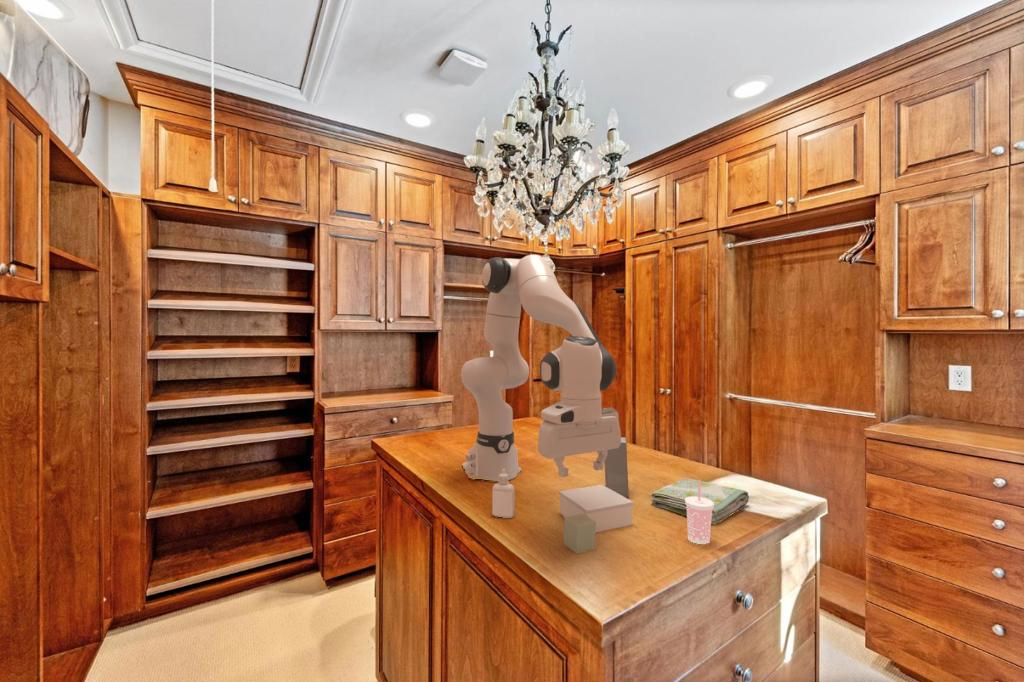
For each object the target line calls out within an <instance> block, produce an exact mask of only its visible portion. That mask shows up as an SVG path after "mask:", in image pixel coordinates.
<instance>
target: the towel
mask: <svg viewBox="0 0 1024 682" xmlns="http://www.w3.org/2000/svg"><path fill="white" fill-rule="evenodd" d="M698 480H699V479H698ZM698 480H697V479H692V478H683V479H679V480H677V481H675V482H673V483H669V484H667V485H666V486H663V487H661V488H659V489H657V490H655V491H653V492H652V493H651V494H650V498H651V503H652V505H653V506H655V507H657V508H660V509H664V510H667V511H671V512H674V513H677V514H679V515H682V516H686V517H687V507H686V504H685V498H687V497H698ZM700 497H703V498H707V499H709V500H711V501H712V502H714V506H713V507H714V508H713V509H712V519H711V524H715V525H717V524H719V523H721V522H722V521H721V520H723V519H724V518H726V517H728V516H729V515H730V514H732V513H734V512H736V511H737V510H740V509H741V510H742V508H743V509H744V508H745V507H746V506H747V504H748V503H749V499H750V498H749V497H750V496H749V492H747V491H746V490H743V489H740V488H735V487H729V486H724V485H721V484H716V483H710V482H707V481H703V480H702V481H701V493H700ZM741 510H740V511H741ZM729 517H730V516H729ZM729 517H728V518H729ZM726 519H727V518H726ZM724 520H725V519H724ZM724 520H723V521H724ZM720 521H721V522H720ZM718 522H719V523H718ZM716 523H717V524H716Z"/></svg>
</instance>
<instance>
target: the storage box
mask: <svg viewBox="0 0 1024 682" xmlns="http://www.w3.org/2000/svg"><path fill="white" fill-rule="evenodd" d="M558 495H559V514H560V515H562V516H563V518H565V517H569V516H573V515H578V514H584V515H585V516H587V517H589V518H590V519H592V520H594V521H595V522H596V533H600V532H603V531H604V532H605V531H608V530H609V531H610V530H614V529H619V528H624V527H629V526H632V525H633V506H634V501H633V500H630V499H628V498H626V497H623V496H622V495H620V494H618V493H616V492H614V491H613V490H611V489H609V488H607V487H606V485H604V484H598V485H591V486H585V487H579V488H571V489H565V490H559V491H558Z"/></svg>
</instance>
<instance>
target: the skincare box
mask: <svg viewBox="0 0 1024 682" xmlns="http://www.w3.org/2000/svg"><path fill="white" fill-rule="evenodd" d="M627 444H628V443H627V439H626V437H623V436H621V444H620V446H619V448H616V449H610V450H608V455H607V457H606V459H605V461H604V462H603V465H604V481H605V487H607V488H609V489H611V490H613V491H614V492H616V493H618V494H620V495H622V496H623V497H625V498H627V499H628V498H629V497H630V494H629V493H630V492H629V476H628V474H629V471H628V450H627V449H628V445H627Z"/></svg>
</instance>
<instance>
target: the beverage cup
mask: <svg viewBox="0 0 1024 682" xmlns="http://www.w3.org/2000/svg"><path fill="white" fill-rule="evenodd" d="M700 493H701V479H700V478H699V479H698V497H687V498H685V504H686V507H687V516H686V523H687V524H686V525H687V526H686V527H687V540H688V541H689V540H690V541H691V542H690V541H689V542H690V543H692V542H693V544H694V543H697V544H696V545H698V544H706V543H709V544H710V540H711V539H710V538H711V528H712V525H711V519H712V509H713V508H714V507H713V506H714V502H712V501H711V500H709V499H707V498H703V497H700Z"/></svg>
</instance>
